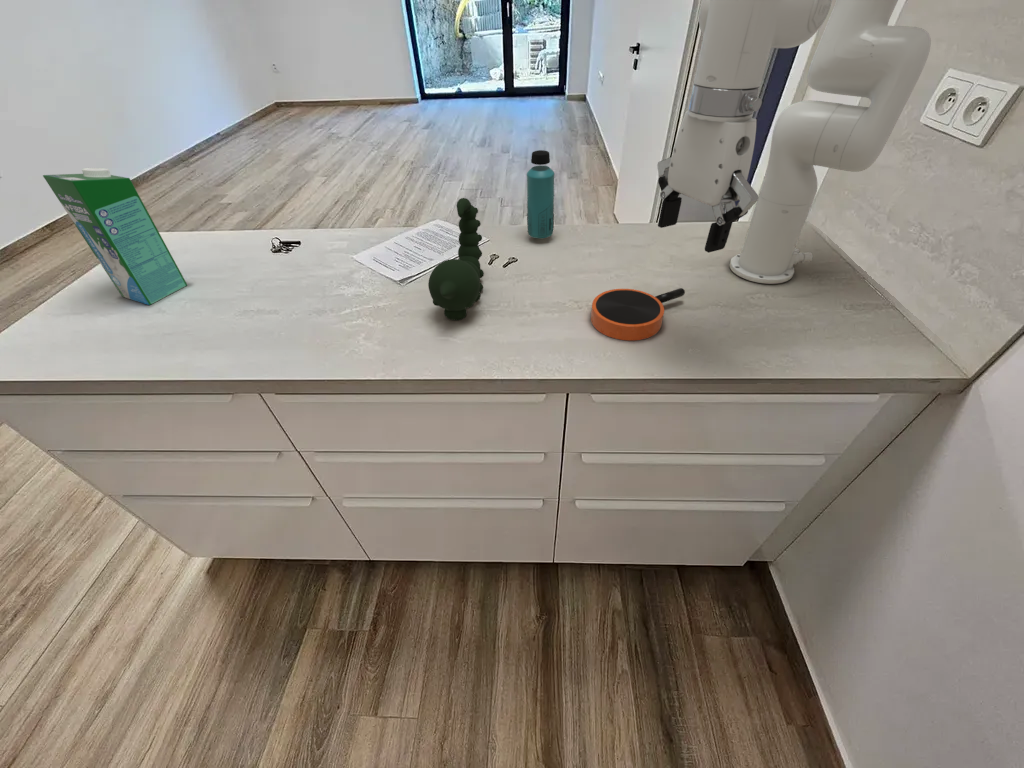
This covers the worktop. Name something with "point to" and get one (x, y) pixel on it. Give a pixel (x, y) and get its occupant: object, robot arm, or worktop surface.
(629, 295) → the pan
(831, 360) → the worktop surface
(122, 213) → the milk carton
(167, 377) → the worktop surface
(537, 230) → the beverage bottle
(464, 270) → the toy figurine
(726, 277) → the worktop surface
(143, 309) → the worktop surface
